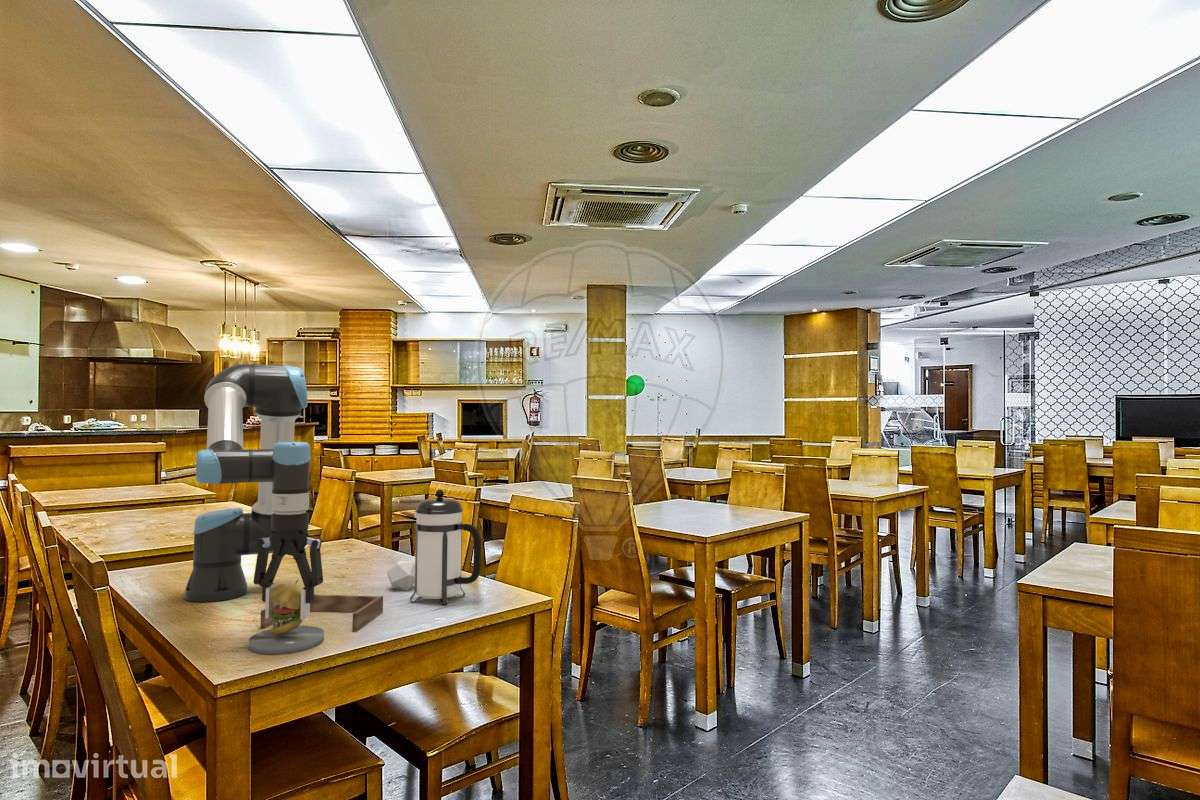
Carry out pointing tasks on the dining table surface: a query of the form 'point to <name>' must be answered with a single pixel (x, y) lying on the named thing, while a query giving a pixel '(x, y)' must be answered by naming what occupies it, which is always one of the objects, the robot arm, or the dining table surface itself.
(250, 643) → the plate
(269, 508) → the robot arm
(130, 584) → the dining table surface
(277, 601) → the hamburger
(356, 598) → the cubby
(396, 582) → the die
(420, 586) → the coffee press
